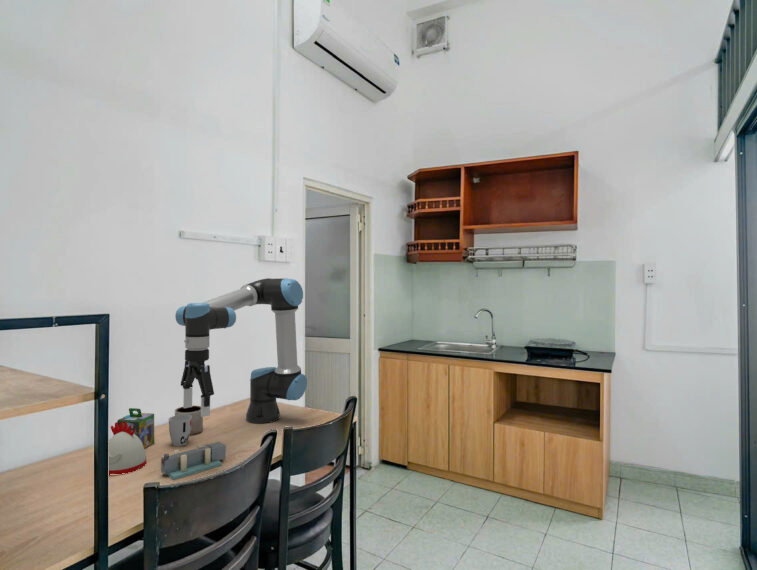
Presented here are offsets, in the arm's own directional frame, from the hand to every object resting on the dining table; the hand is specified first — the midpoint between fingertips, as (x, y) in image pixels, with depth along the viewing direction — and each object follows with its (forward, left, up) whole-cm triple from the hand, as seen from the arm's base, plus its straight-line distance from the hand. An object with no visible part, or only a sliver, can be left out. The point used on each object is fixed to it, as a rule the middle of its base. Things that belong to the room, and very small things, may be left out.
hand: (196, 411), depth 148 cm
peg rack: (+1, 0, -19) cm, 19 cm away
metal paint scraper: (+1, 0, -18) cm, 18 cm away
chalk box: (+8, -33, -19) cm, 39 cm away
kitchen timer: (+17, -17, -19) cm, 31 cm away
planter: (-13, -36, -19) cm, 43 cm away
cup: (-5, -25, -19) cm, 32 cm away
